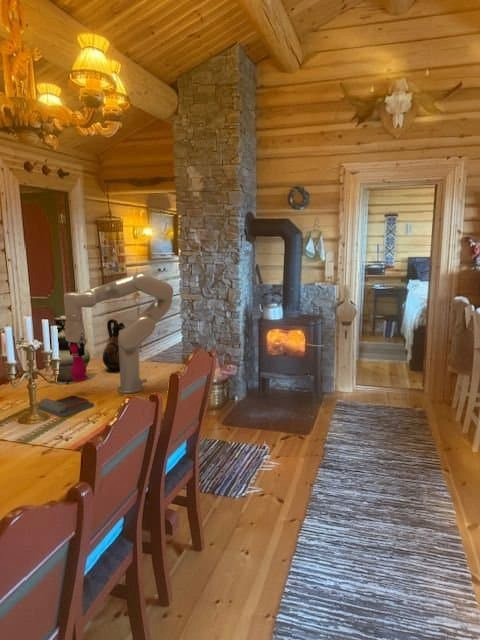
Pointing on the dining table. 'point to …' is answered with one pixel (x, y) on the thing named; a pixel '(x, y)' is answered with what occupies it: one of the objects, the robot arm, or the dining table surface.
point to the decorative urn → (66, 354)
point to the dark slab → (65, 405)
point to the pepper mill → (77, 365)
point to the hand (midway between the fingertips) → (77, 354)
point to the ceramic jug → (112, 347)
